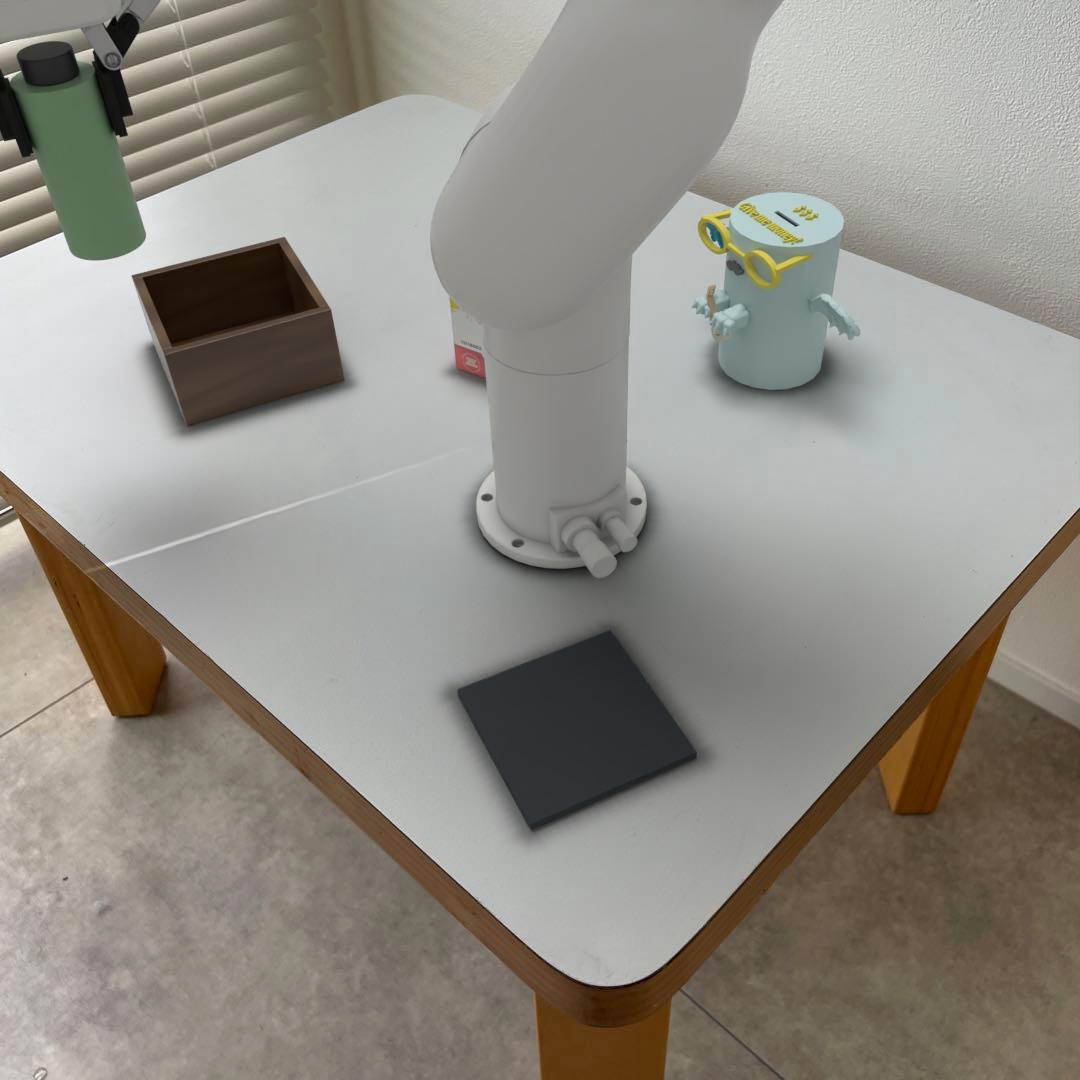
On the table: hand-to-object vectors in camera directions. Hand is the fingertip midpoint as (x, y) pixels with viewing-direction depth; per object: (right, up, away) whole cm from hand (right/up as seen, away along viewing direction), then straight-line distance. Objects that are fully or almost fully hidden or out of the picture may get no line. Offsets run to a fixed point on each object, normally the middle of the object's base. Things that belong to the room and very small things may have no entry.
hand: (72, 135), depth 71 cm
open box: (+3, -10, +29) cm, 31 cm away
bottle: (0, -5, +5) cm, 7 cm away
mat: (+31, -37, 0) cm, 48 cm away
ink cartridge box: (+27, -11, +27) cm, 39 cm away
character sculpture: (+48, -10, +27) cm, 55 cm away
